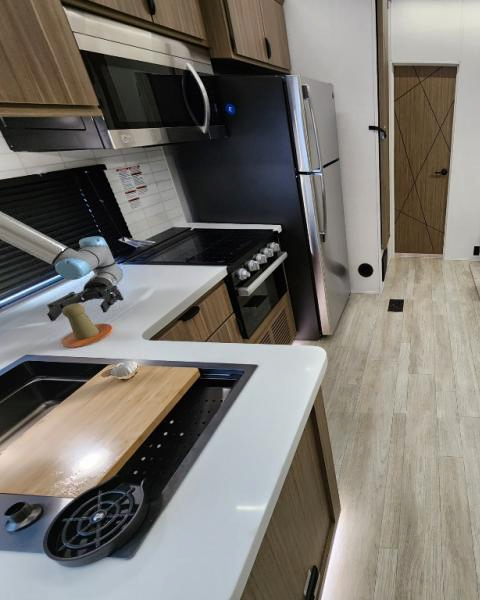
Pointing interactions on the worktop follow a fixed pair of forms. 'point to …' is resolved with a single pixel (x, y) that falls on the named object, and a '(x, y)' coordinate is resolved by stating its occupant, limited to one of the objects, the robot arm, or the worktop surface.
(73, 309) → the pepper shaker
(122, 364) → the garlic
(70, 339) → the coaster
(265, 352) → the worktop surface
